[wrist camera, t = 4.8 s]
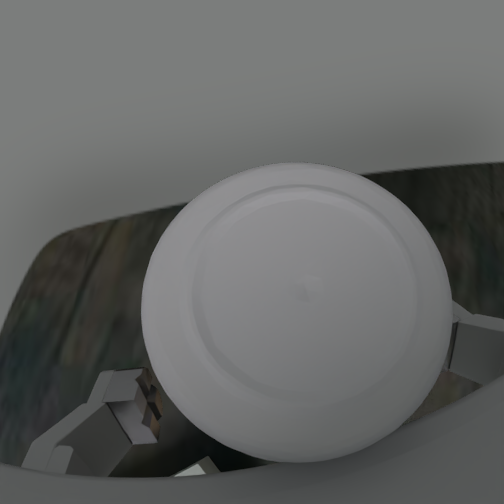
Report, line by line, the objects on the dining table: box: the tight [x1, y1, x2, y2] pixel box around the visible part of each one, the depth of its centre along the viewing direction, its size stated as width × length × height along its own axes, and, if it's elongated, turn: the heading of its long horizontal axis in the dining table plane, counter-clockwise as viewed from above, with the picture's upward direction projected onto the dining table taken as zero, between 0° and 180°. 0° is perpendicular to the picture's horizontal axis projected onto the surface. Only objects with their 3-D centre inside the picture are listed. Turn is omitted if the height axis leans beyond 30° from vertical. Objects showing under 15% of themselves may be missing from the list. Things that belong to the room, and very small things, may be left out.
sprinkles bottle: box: [141, 162, 453, 463], centre depth 10 cm, size 5×5×13 cm
